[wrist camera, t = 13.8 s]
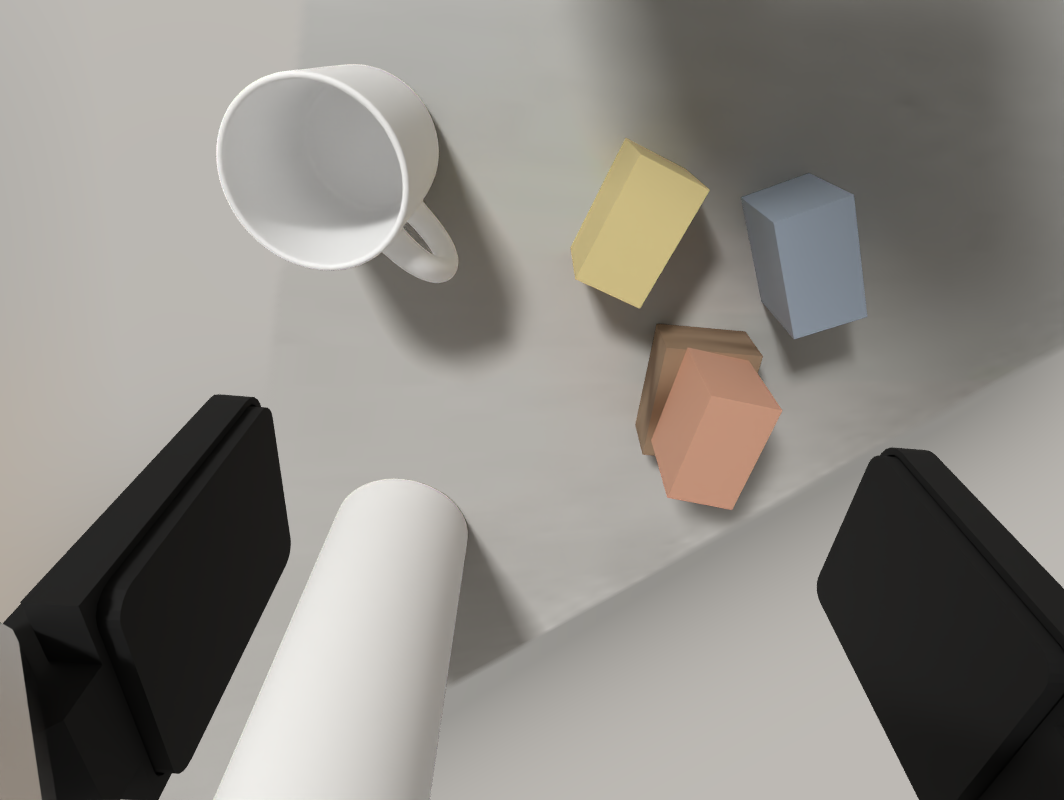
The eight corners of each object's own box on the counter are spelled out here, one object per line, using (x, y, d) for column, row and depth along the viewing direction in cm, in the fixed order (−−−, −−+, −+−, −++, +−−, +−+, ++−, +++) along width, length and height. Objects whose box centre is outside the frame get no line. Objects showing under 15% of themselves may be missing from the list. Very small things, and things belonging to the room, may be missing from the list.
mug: (512, 205, 37) (504, 256, 28) (415, 288, 40) (380, 359, 31) (365, 26, 33) (300, 20, 24) (267, 134, 35) (175, 165, 26)
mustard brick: (625, 137, 35) (640, 154, 30) (685, 168, 36) (709, 190, 31) (570, 247, 39) (575, 279, 33) (626, 273, 39) (639, 308, 34)
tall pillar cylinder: (321, 482, 48) (141, 844, 26) (457, 474, 47) (388, 837, 26) (353, 581, 53) (225, 949, 32) (476, 574, 53) (431, 945, 31)
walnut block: (655, 321, 41) (666, 347, 38) (744, 330, 41) (762, 356, 38) (634, 422, 45) (642, 454, 42) (715, 429, 45) (729, 461, 42)
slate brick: (740, 197, 37) (773, 222, 32) (808, 172, 36) (854, 194, 31) (761, 301, 40) (794, 339, 35) (824, 280, 39) (867, 316, 34)
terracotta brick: (687, 347, 38) (711, 395, 32) (748, 360, 38) (782, 410, 33) (651, 440, 41) (667, 497, 36) (707, 451, 42) (732, 510, 36)
